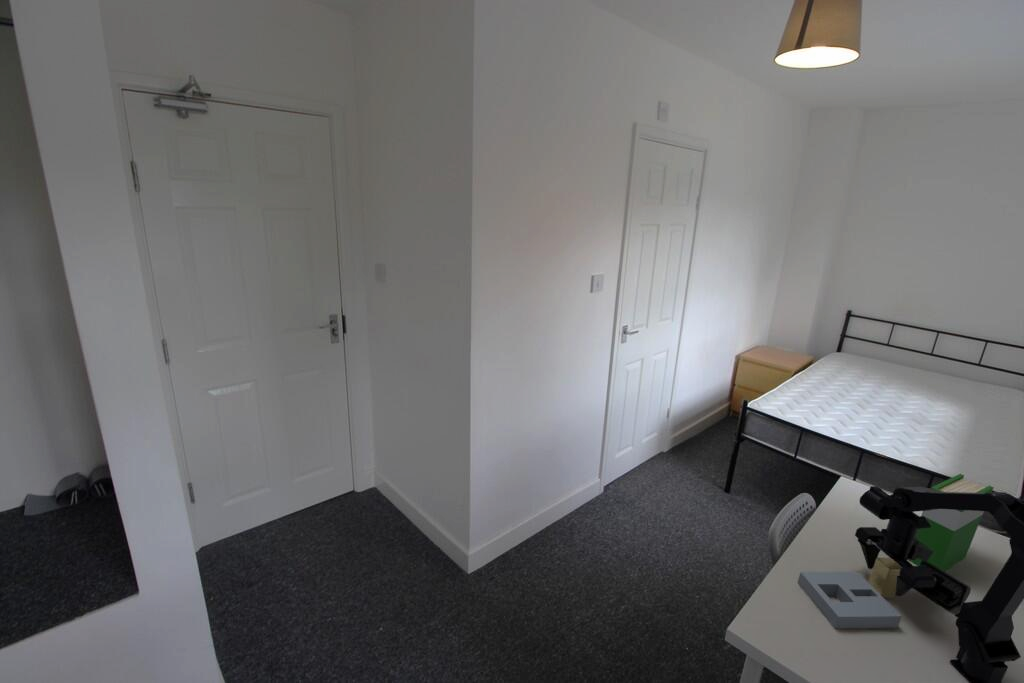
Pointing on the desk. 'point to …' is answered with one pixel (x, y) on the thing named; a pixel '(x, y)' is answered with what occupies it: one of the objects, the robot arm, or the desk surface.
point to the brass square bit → (885, 576)
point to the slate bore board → (848, 600)
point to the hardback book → (950, 526)
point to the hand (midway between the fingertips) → (883, 581)
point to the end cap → (944, 588)
